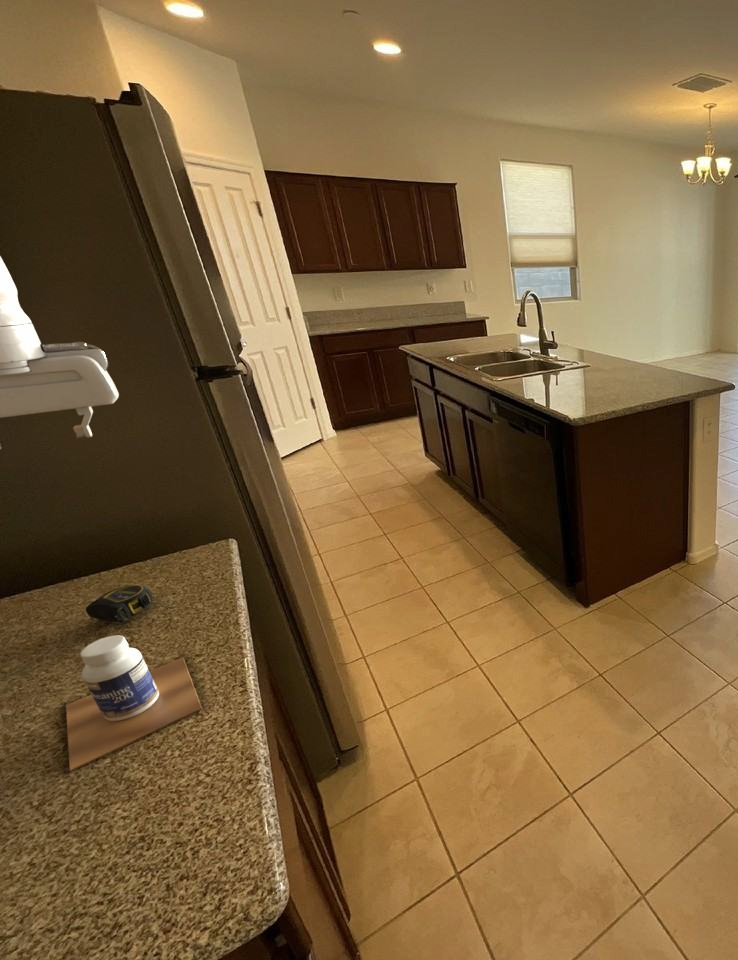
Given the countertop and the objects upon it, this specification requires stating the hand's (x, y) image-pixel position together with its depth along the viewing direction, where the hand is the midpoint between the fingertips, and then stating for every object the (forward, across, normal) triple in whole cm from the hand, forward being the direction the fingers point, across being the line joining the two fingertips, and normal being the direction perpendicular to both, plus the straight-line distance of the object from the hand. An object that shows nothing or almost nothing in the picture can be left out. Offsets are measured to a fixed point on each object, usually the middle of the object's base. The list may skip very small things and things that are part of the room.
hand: (40, 443), depth 77 cm
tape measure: (+29, -1, +4) cm, 30 cm away
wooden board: (+29, -4, +31) cm, 43 cm away
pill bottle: (+29, -3, +31) cm, 43 cm away
